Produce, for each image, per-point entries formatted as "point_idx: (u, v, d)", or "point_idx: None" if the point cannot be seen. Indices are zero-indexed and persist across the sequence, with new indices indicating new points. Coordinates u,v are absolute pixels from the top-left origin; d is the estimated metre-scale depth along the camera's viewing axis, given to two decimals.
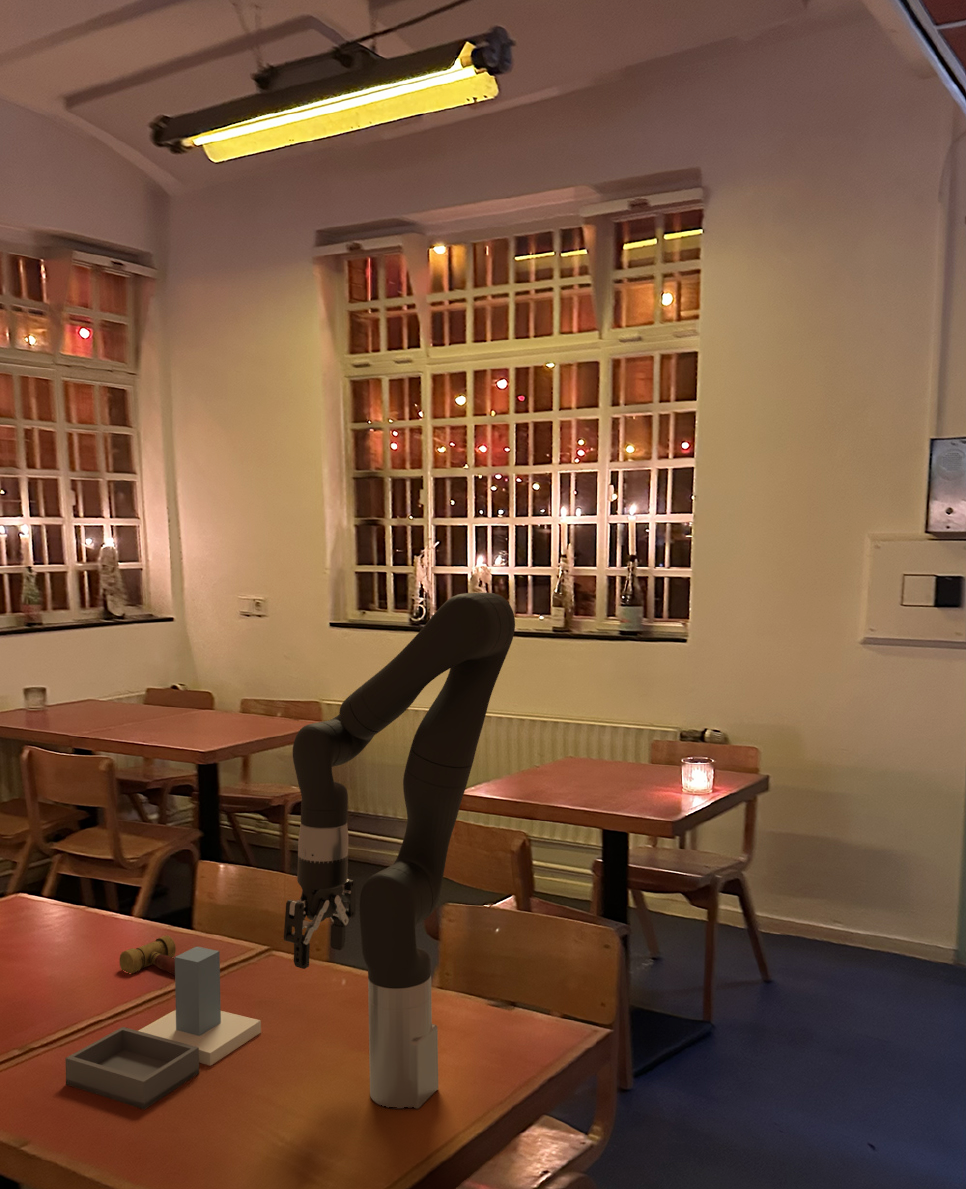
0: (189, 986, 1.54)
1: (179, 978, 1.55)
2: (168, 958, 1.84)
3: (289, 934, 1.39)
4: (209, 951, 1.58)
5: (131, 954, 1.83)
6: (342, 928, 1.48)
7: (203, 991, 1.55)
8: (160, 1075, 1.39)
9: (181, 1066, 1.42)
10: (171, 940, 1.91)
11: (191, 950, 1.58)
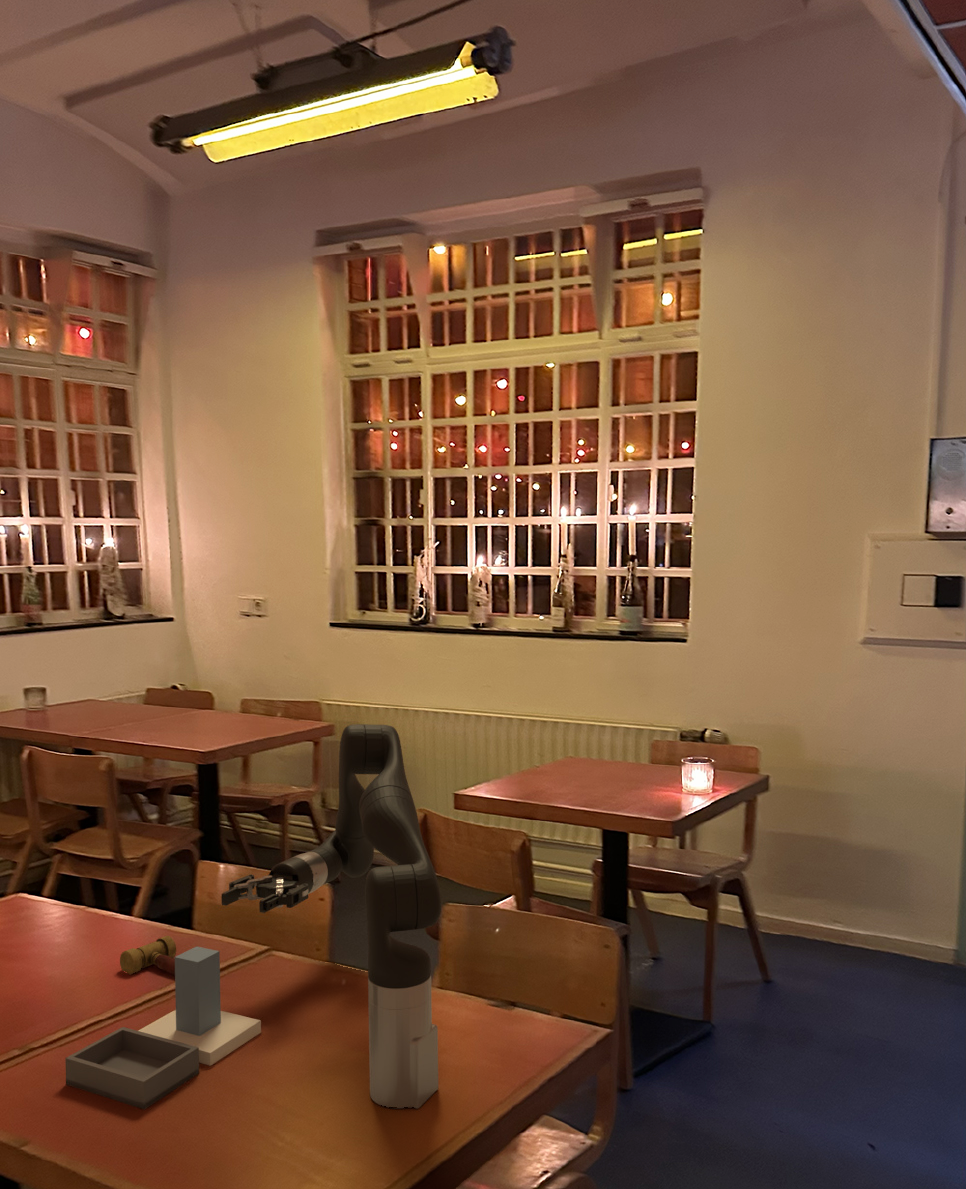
0: (189, 986, 1.54)
1: (179, 978, 1.55)
2: (168, 958, 1.84)
3: None
4: (209, 951, 1.58)
5: (132, 954, 1.83)
6: (272, 894, 1.68)
7: (203, 991, 1.55)
8: (160, 1075, 1.39)
9: (181, 1066, 1.42)
10: (172, 940, 1.91)
11: (191, 950, 1.58)
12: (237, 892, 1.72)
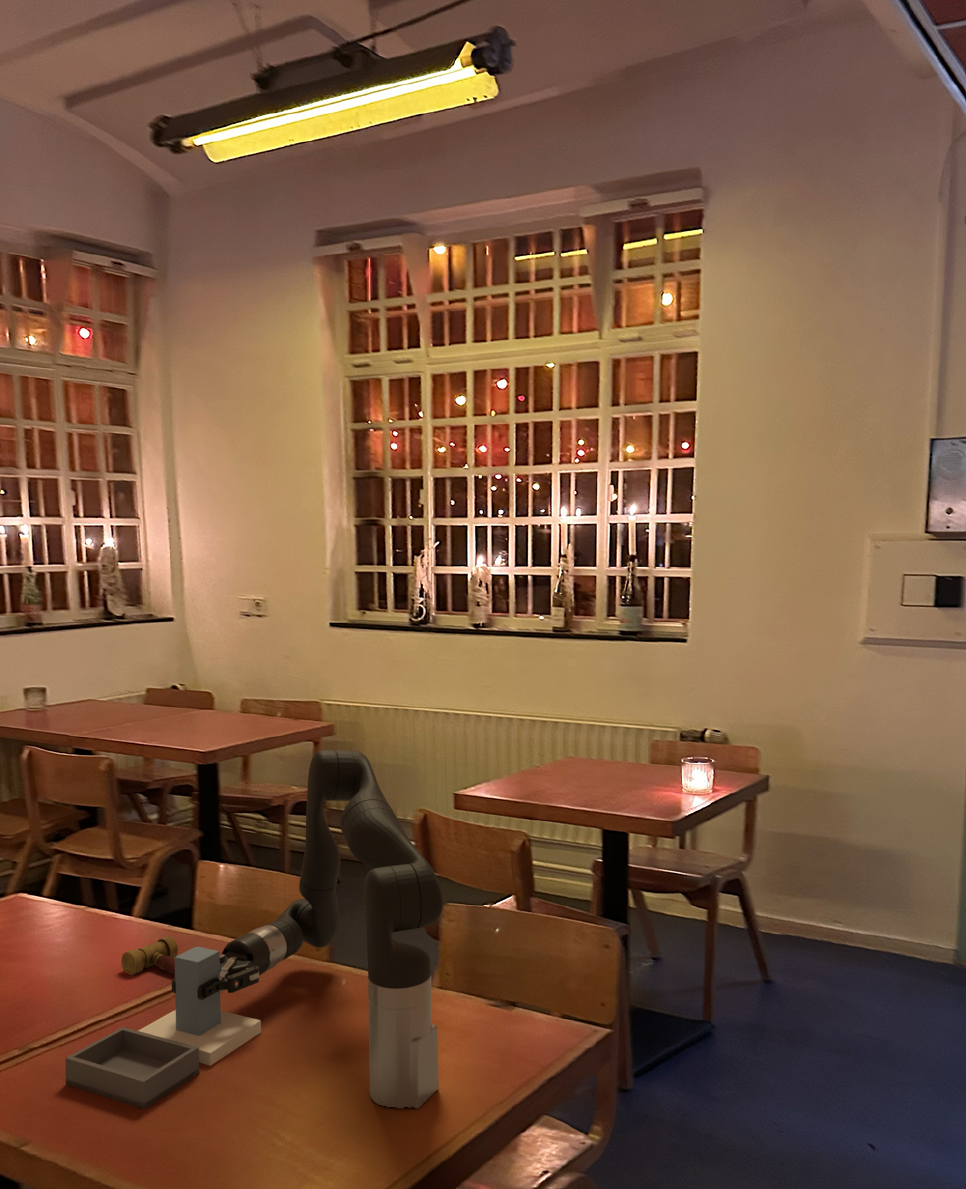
0: (189, 986, 1.54)
1: (179, 978, 1.55)
2: (170, 959, 1.83)
3: None
4: (209, 951, 1.58)
5: (133, 955, 1.83)
6: None
7: None
8: (160, 1075, 1.39)
9: (181, 1066, 1.42)
10: (173, 941, 1.90)
11: (191, 950, 1.58)
12: None
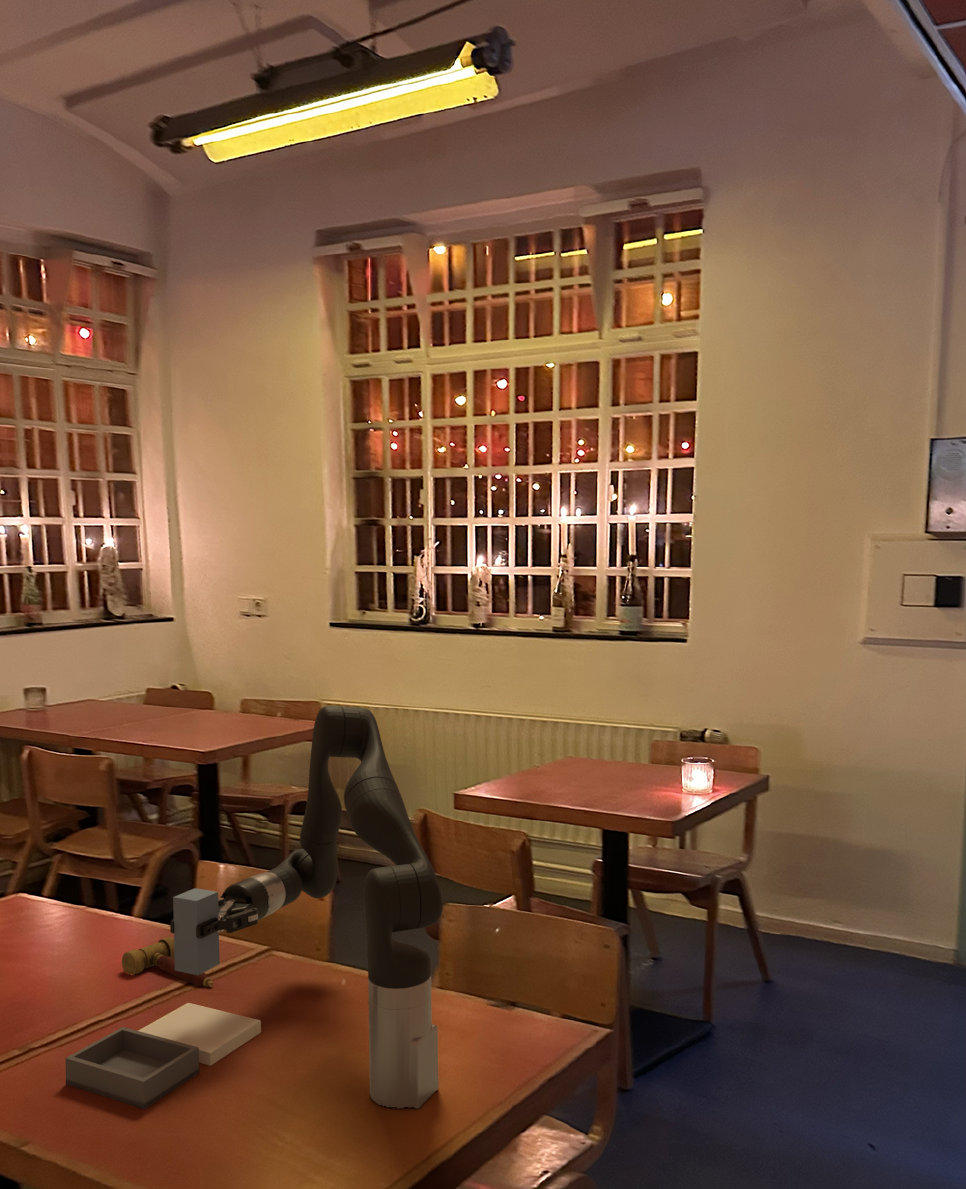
0: (188, 925, 1.54)
1: (177, 918, 1.55)
2: (170, 959, 1.83)
3: None
4: (208, 892, 1.58)
5: (134, 955, 1.83)
6: None
7: None
8: (160, 1075, 1.39)
9: (181, 1066, 1.42)
10: None
11: (189, 891, 1.58)
12: None
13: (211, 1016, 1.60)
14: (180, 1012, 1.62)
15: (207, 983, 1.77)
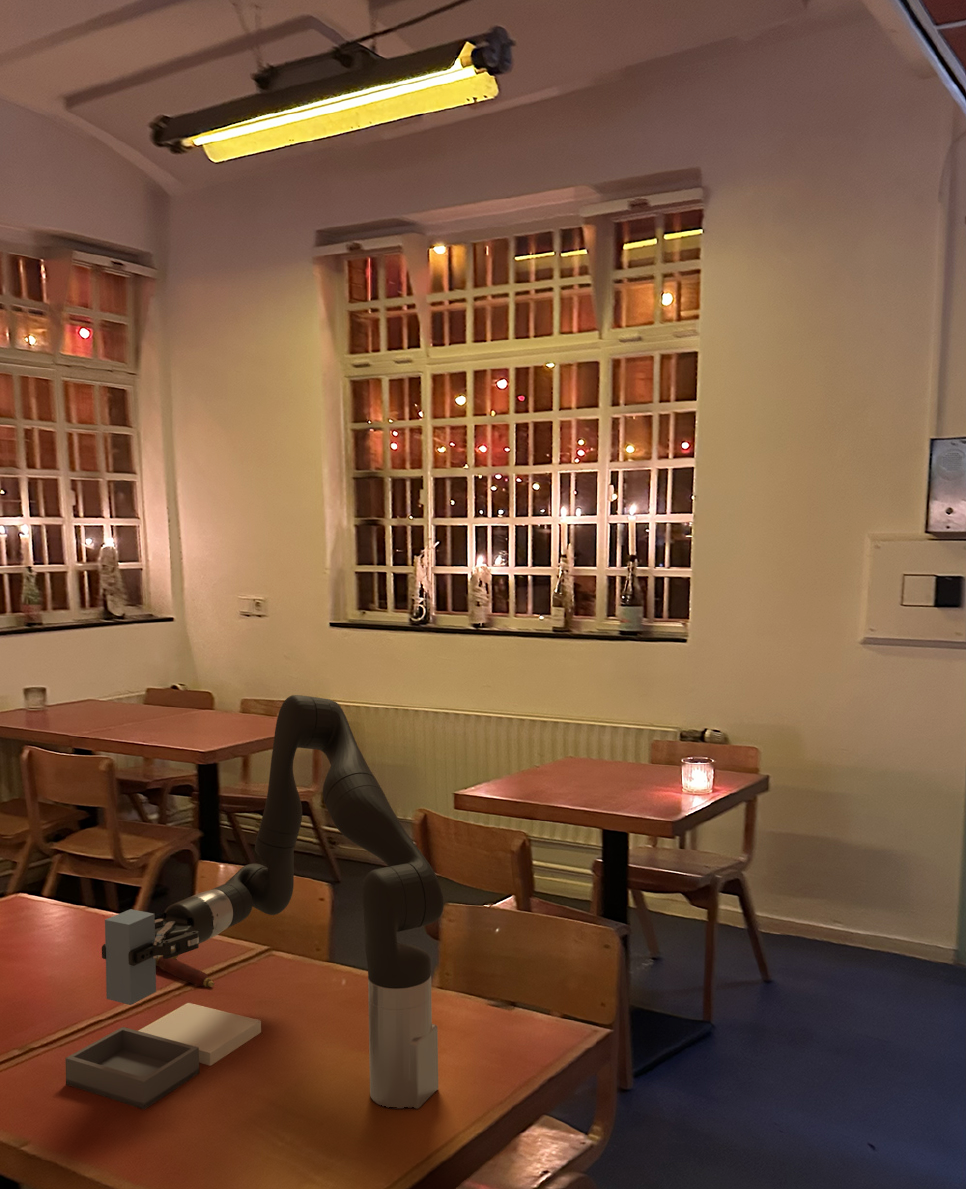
0: (120, 951, 1.42)
1: (109, 942, 1.43)
2: (171, 959, 1.83)
3: None
4: (144, 913, 1.45)
5: None
6: (146, 943, 1.44)
7: None
8: (160, 1075, 1.39)
9: (181, 1066, 1.42)
10: None
11: (124, 912, 1.46)
12: None
13: (211, 1016, 1.60)
14: (180, 1012, 1.62)
15: (208, 983, 1.77)
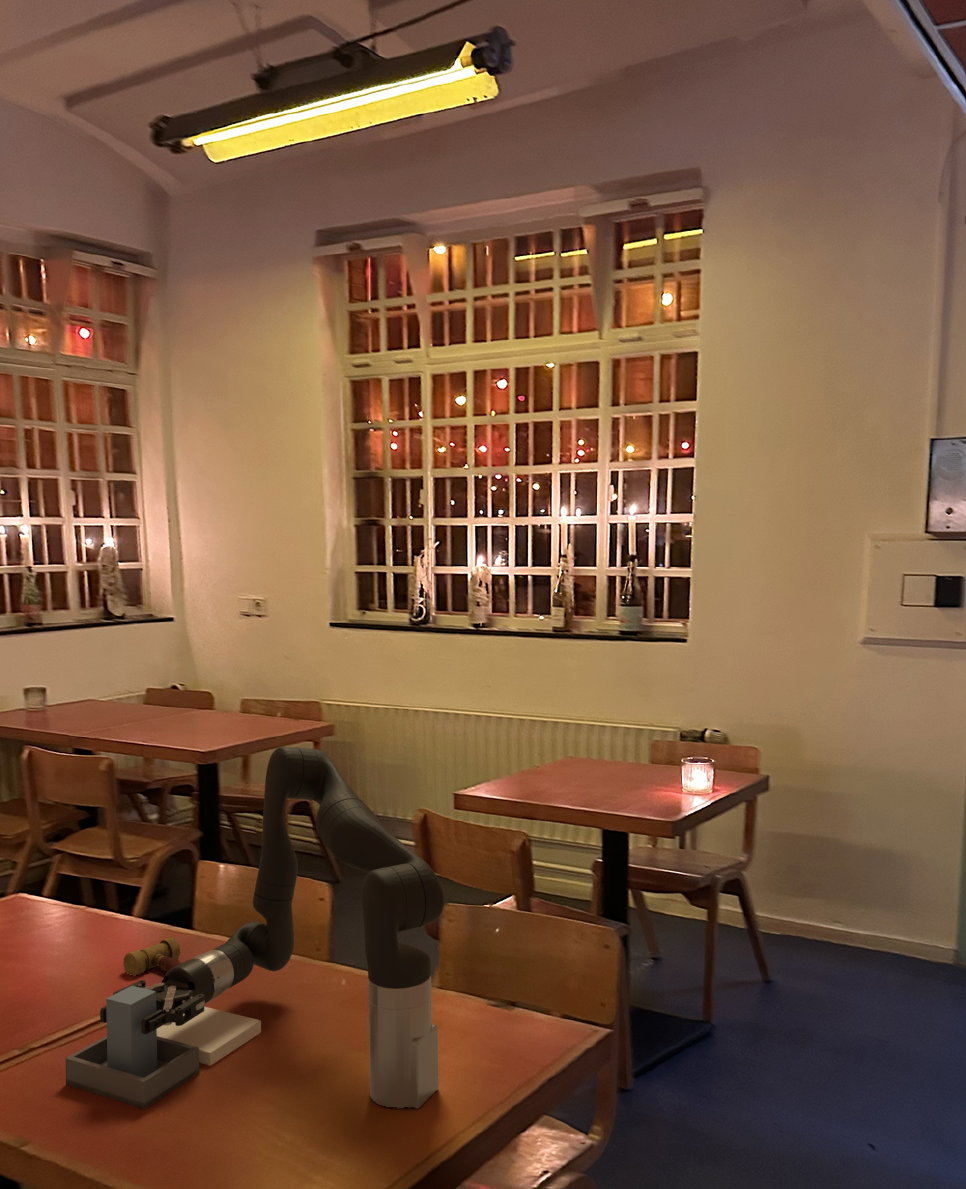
0: (121, 1030, 1.42)
1: (110, 1021, 1.43)
2: (172, 960, 1.83)
3: None
4: (145, 991, 1.45)
5: (135, 956, 1.82)
6: (159, 1010, 1.44)
7: (137, 1036, 1.42)
8: (160, 1075, 1.39)
9: (181, 1066, 1.42)
10: (175, 942, 1.90)
11: (125, 990, 1.46)
12: None
13: (211, 1016, 1.60)
14: None
15: None
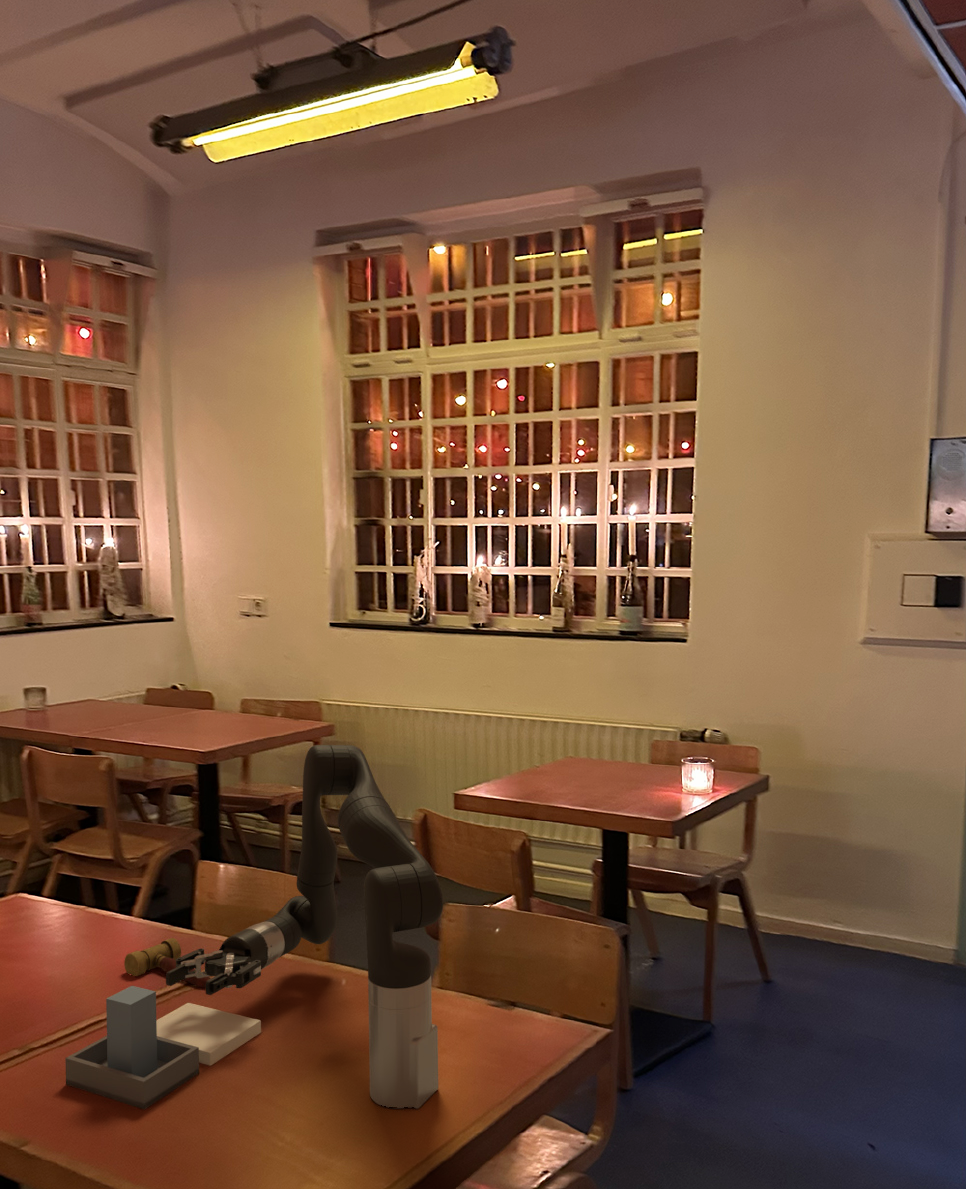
0: (121, 1030, 1.42)
1: (110, 1021, 1.43)
2: (173, 961, 1.83)
3: None
4: (145, 991, 1.45)
5: (136, 956, 1.82)
6: (220, 974, 1.55)
7: (137, 1036, 1.42)
8: (160, 1075, 1.39)
9: (181, 1066, 1.42)
10: (176, 943, 1.89)
11: (125, 990, 1.46)
12: (184, 970, 1.59)
13: (211, 1016, 1.60)
14: (180, 1012, 1.62)
15: None
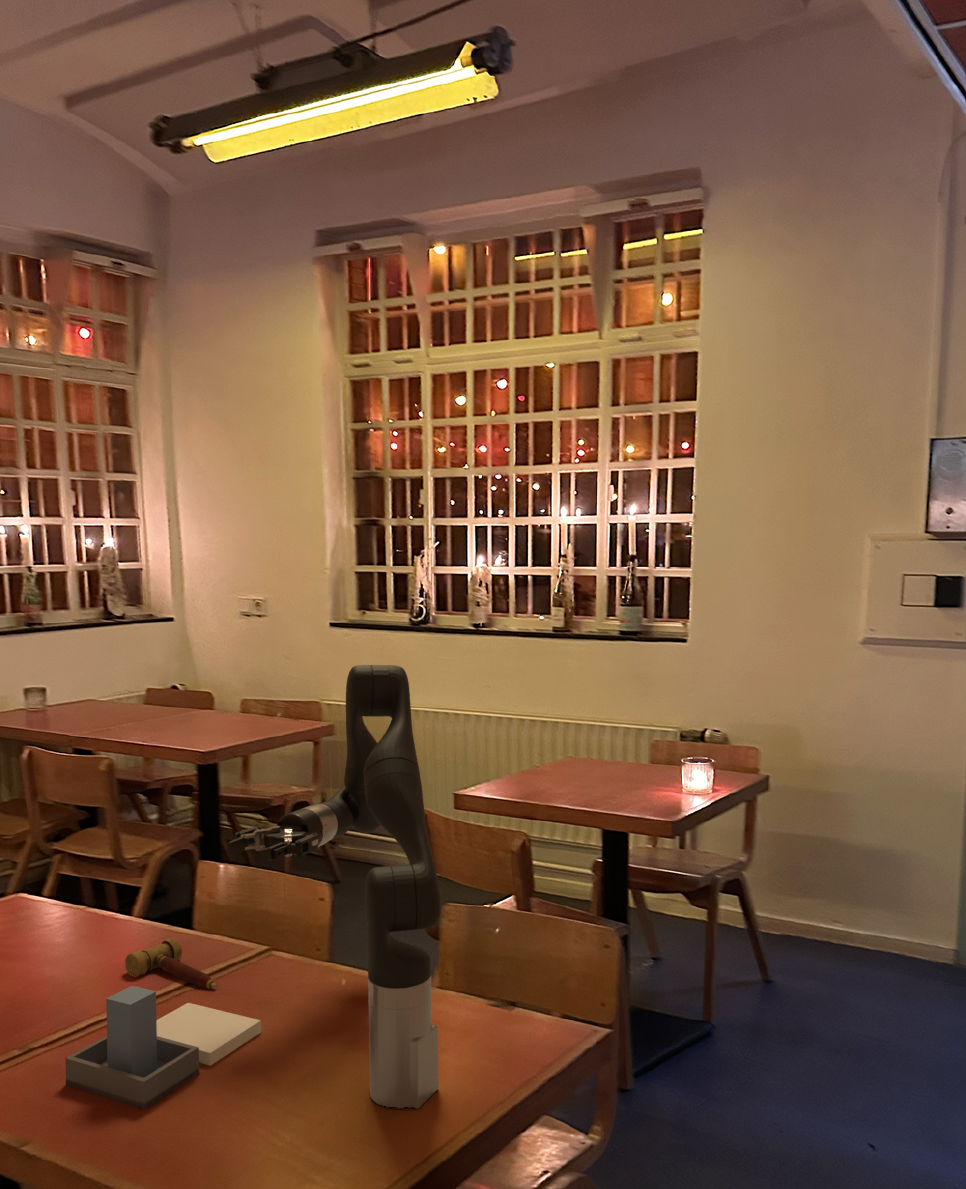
0: (121, 1030, 1.42)
1: (110, 1021, 1.43)
2: (174, 961, 1.82)
3: None
4: (145, 991, 1.45)
5: (137, 957, 1.82)
6: (281, 843, 1.61)
7: (137, 1036, 1.42)
8: (160, 1075, 1.39)
9: (181, 1066, 1.42)
10: (177, 943, 1.89)
11: (125, 990, 1.46)
12: (244, 842, 1.64)
13: (211, 1016, 1.60)
14: (180, 1012, 1.62)
15: (210, 985, 1.76)
